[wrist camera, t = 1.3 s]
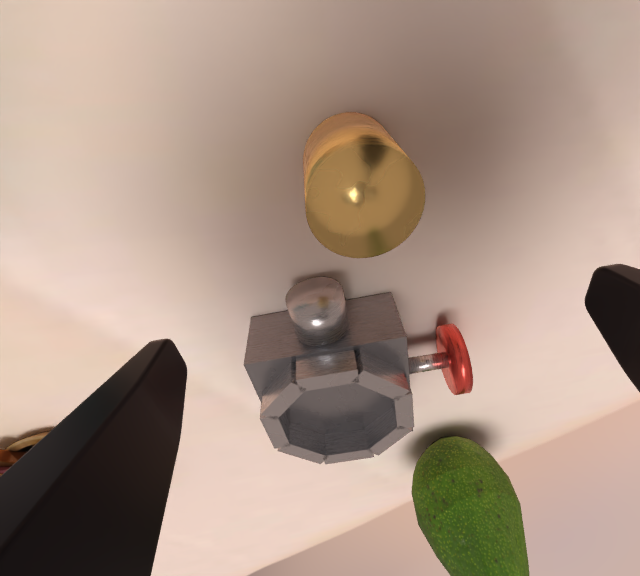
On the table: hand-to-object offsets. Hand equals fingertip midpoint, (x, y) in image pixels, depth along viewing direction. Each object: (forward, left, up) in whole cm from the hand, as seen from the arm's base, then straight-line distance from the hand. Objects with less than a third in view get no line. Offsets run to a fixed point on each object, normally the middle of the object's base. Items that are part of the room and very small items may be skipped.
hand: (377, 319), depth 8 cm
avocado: (-6, +27, -12) cm, 31 cm away
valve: (0, +13, -12) cm, 18 cm away
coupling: (-1, 0, -12) cm, 12 cm away
